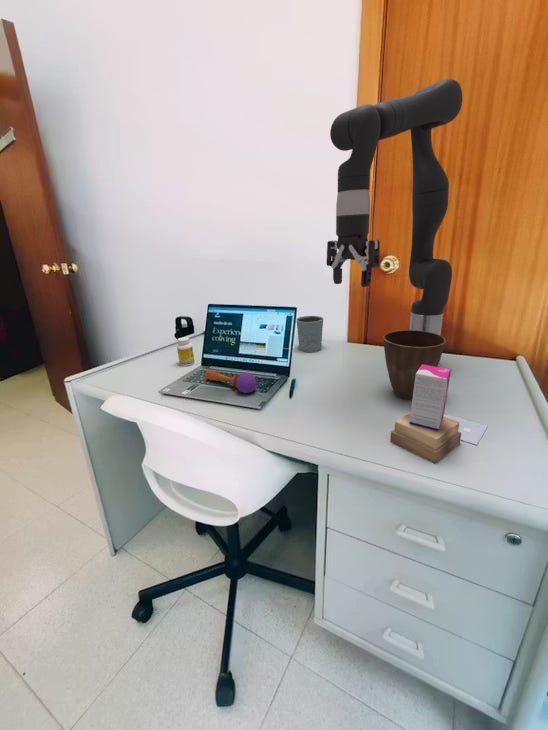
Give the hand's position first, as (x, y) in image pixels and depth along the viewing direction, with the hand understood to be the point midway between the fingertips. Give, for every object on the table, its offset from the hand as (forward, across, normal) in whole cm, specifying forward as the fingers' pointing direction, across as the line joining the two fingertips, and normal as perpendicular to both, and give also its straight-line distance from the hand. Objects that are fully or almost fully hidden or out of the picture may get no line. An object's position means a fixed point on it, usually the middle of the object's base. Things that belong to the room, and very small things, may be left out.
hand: (351, 285), depth 85 cm
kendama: (+31, +29, +21) cm, 47 cm away
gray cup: (+30, +36, -20) cm, 51 cm away
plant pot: (+30, -11, -12) cm, 34 cm away
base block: (+30, -26, +6) cm, 40 cm away
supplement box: (+25, -26, +6) cm, 37 cm away
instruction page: (+30, -27, -4) cm, 41 cm away
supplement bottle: (+30, +57, +22) cm, 68 cm away
